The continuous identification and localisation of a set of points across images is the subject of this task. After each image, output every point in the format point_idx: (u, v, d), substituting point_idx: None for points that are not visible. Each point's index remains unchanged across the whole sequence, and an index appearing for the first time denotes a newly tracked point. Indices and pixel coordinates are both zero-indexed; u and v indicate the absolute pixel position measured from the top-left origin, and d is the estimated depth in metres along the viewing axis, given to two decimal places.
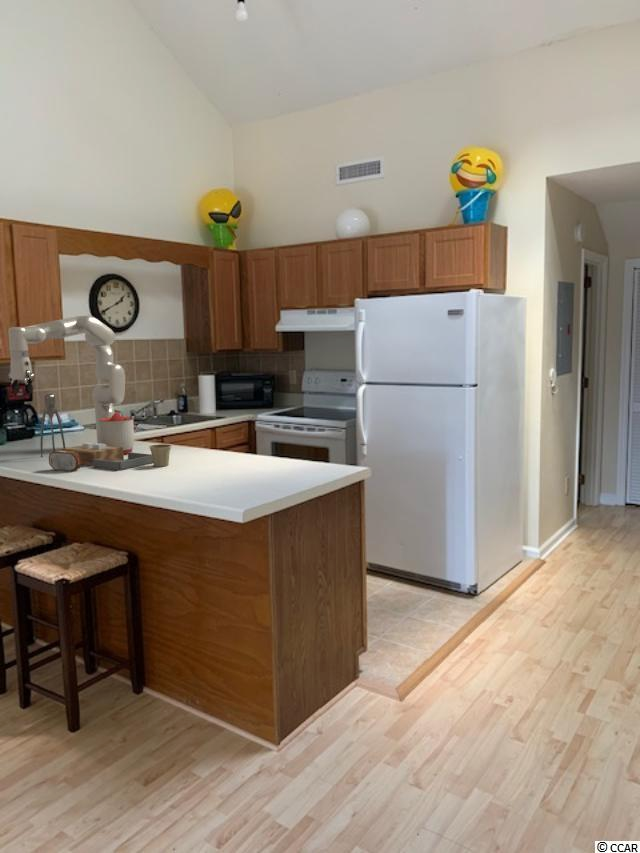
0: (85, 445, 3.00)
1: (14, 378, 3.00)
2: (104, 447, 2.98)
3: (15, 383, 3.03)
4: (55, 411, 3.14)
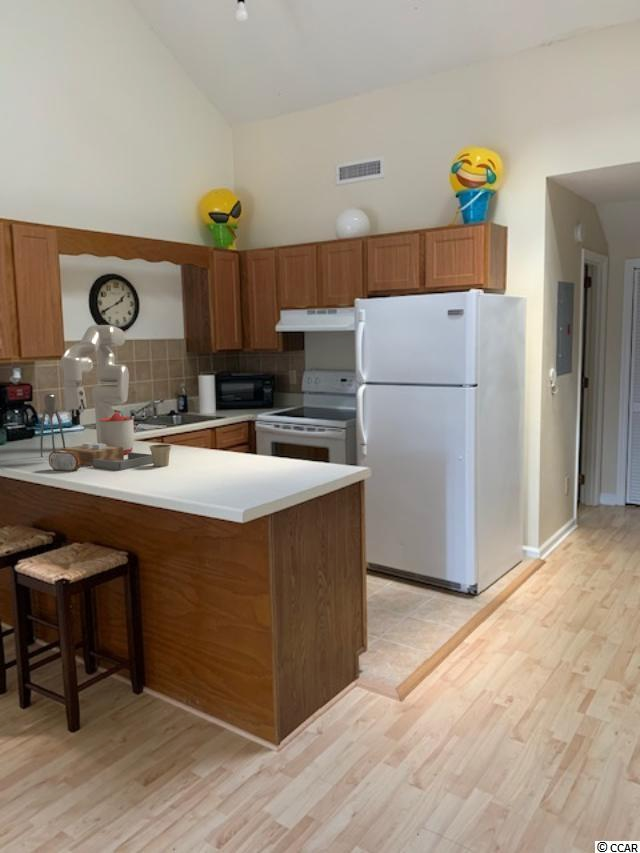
0: (85, 445, 3.00)
1: (68, 407, 3.03)
2: (104, 447, 2.98)
3: None
4: (55, 411, 3.14)
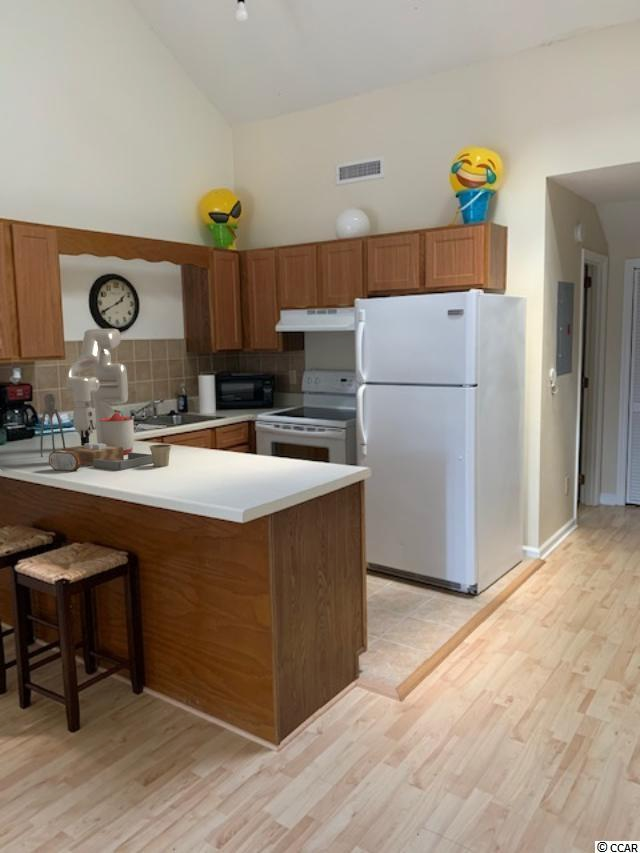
0: (86, 445, 3.00)
1: (77, 428, 3.02)
2: (104, 447, 2.98)
3: None
4: (55, 411, 3.14)
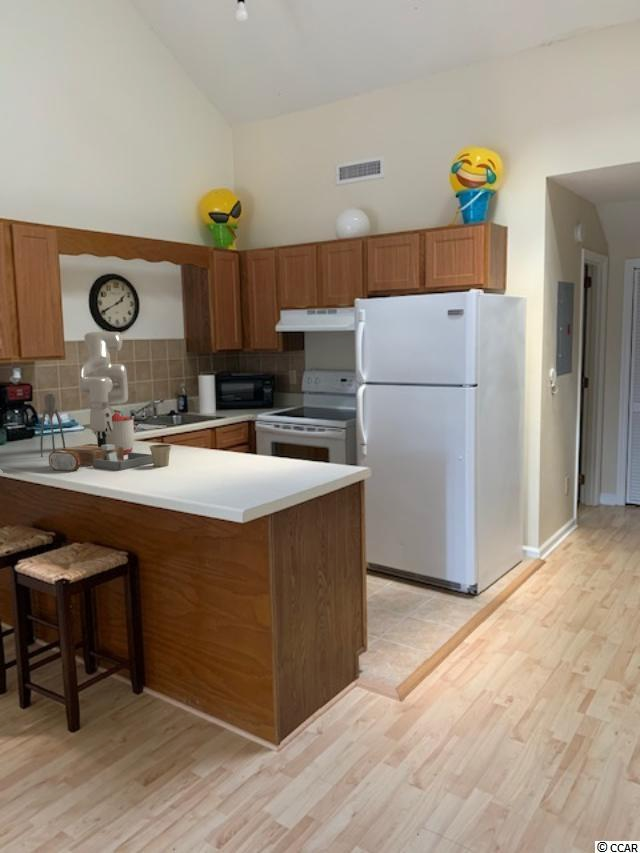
0: (103, 447, 2.94)
1: (94, 429, 2.96)
2: None
3: None
4: (55, 411, 3.14)
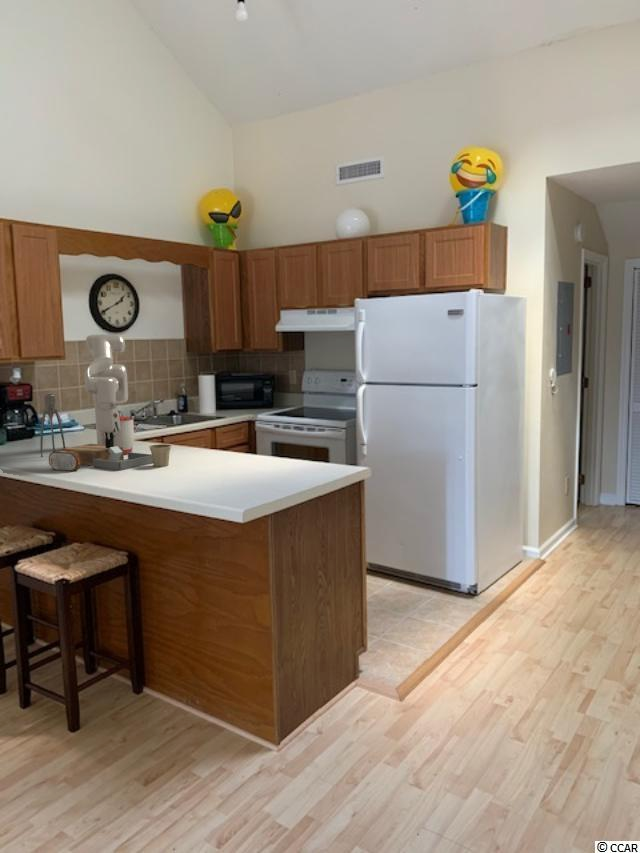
0: (111, 451, 2.91)
1: (102, 430, 2.93)
2: None
3: None
4: (55, 411, 3.14)
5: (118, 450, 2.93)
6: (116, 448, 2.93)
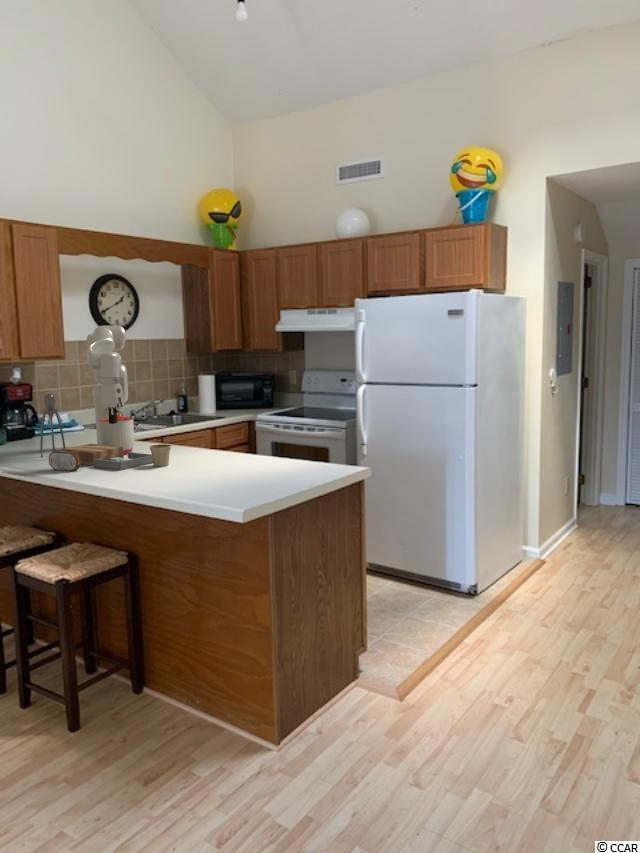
0: None
1: (105, 405, 2.90)
2: None
3: None
4: (55, 411, 3.14)
5: None
6: None
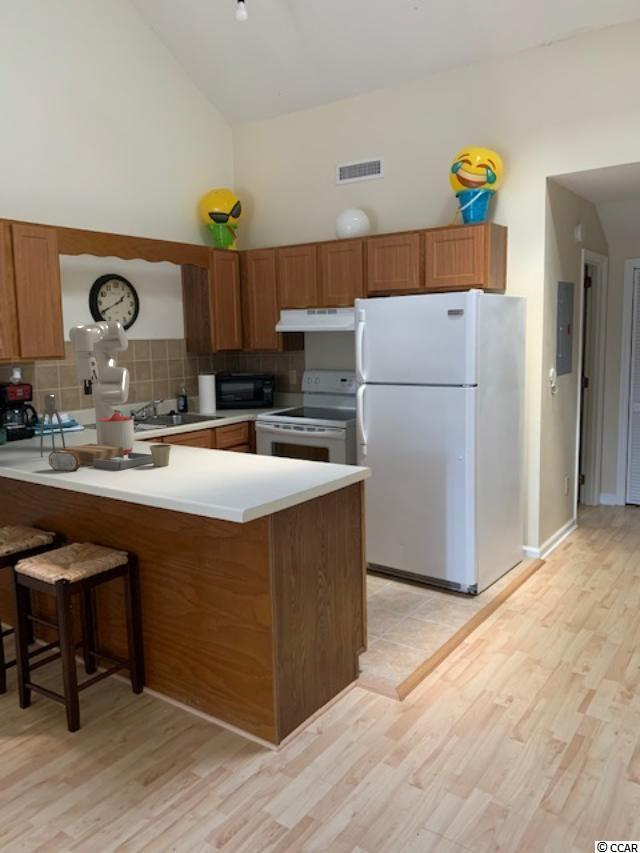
0: None
1: (80, 377, 3.09)
2: None
3: None
4: (55, 411, 3.14)
5: None
6: None
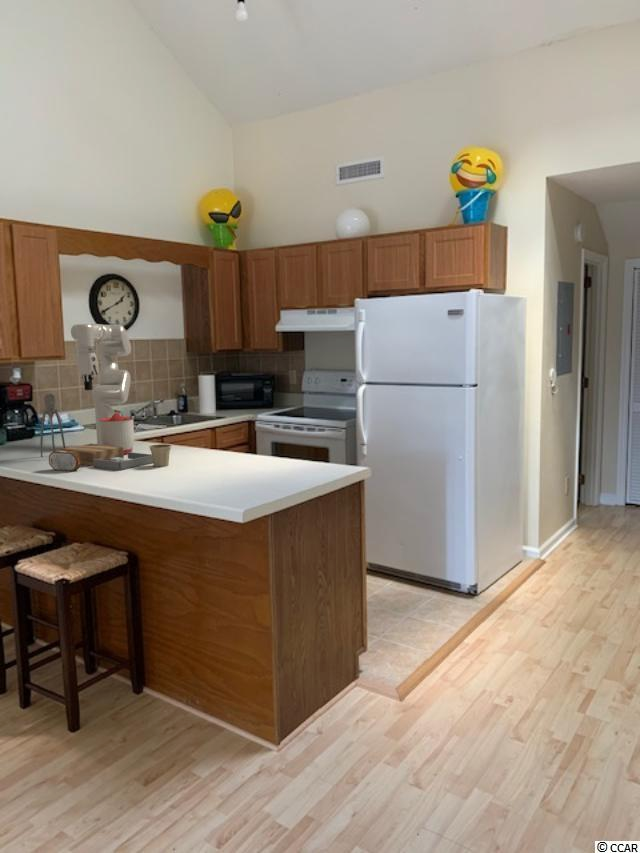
0: None
1: (81, 373, 3.13)
2: None
3: None
4: (55, 411, 3.14)
5: None
6: None
